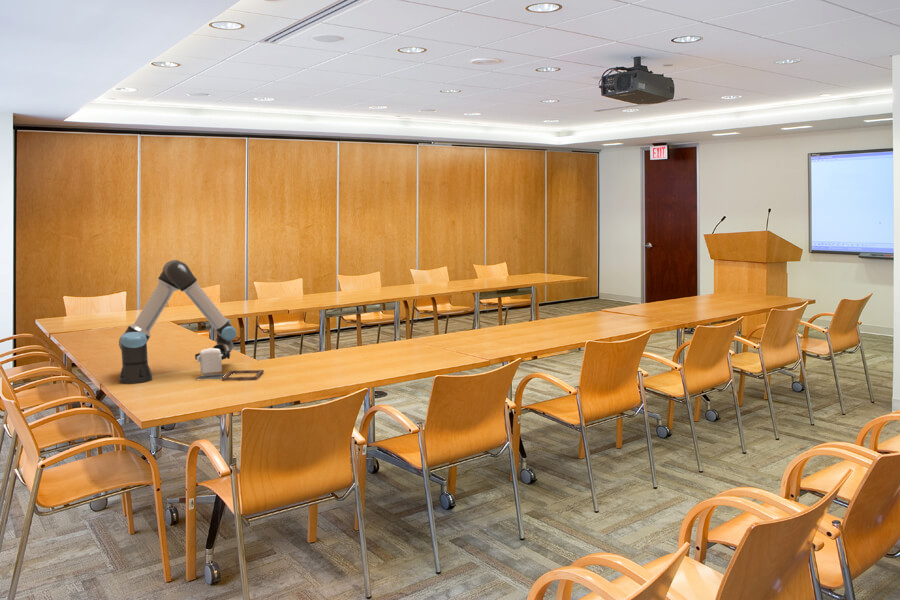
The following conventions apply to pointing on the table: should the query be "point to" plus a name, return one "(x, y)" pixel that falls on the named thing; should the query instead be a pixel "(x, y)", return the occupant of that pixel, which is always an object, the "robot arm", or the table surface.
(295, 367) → the table surface
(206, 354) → the photo printer
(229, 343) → the robot arm
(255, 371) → the walnut frame
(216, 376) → the rubber mat
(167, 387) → the table surface
